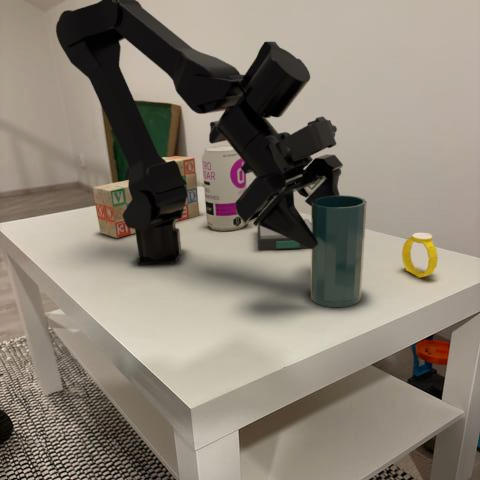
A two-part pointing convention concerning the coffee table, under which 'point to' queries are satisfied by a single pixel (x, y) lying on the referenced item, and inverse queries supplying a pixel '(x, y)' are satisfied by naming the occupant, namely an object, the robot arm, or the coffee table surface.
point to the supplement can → (223, 187)
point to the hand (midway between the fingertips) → (332, 236)
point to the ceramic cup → (337, 250)
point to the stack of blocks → (118, 198)
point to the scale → (277, 239)
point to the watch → (431, 251)
